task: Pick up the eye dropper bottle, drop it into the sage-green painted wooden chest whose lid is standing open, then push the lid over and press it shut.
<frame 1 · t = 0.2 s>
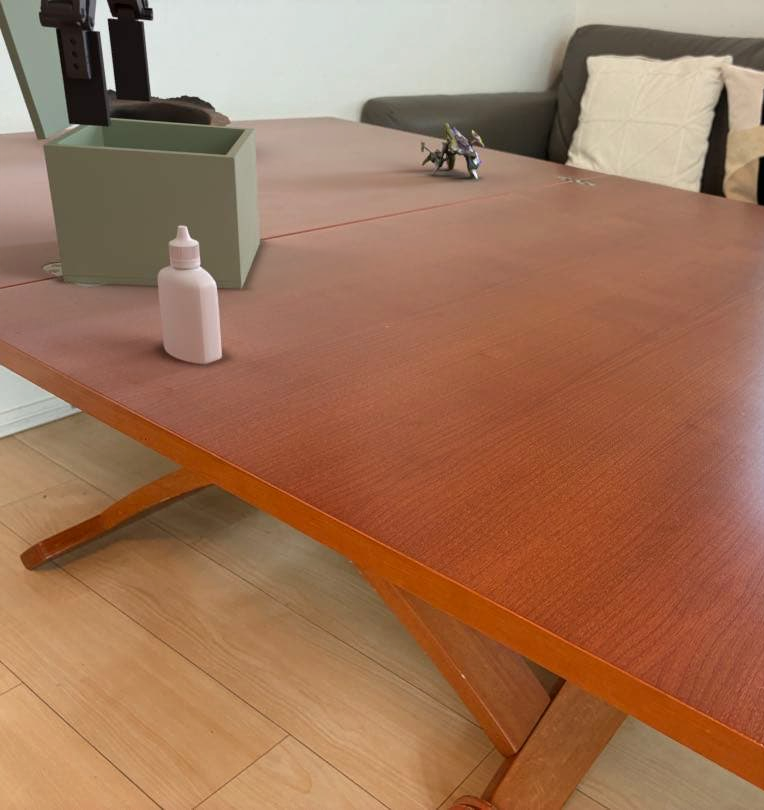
hand: (114, 111, 69), 21 cm above the table, tool pointing down, fingers open, 13 cm apart
chest lid: (39, 29, 87), point 24 cm above the table, hinge at 100.0°
stone bowl: (159, 153, 152), on the table
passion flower: (451, 179, 158), on the table
eye dropper bottle: (193, 357, 78), on the table
chest: (171, 262, 100), on the table
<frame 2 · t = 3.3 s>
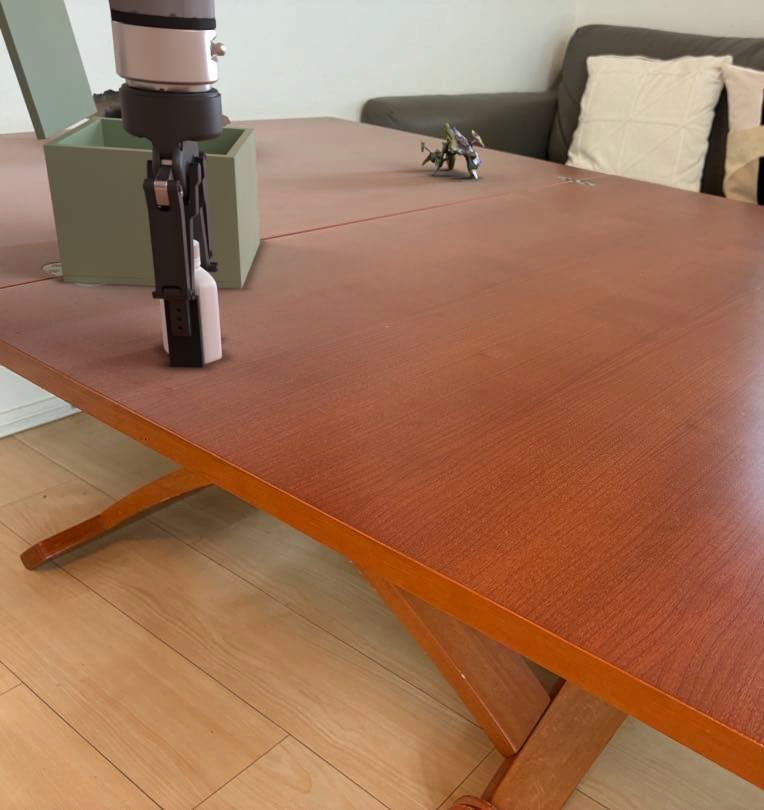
hand: (193, 352, 78), 0 cm above the table, tool pointing down, fingers closed on eye dropper bottle, 5 cm apart
eye dropper bottle: (193, 357, 78), on the table, touching gripper
everything else where it was.
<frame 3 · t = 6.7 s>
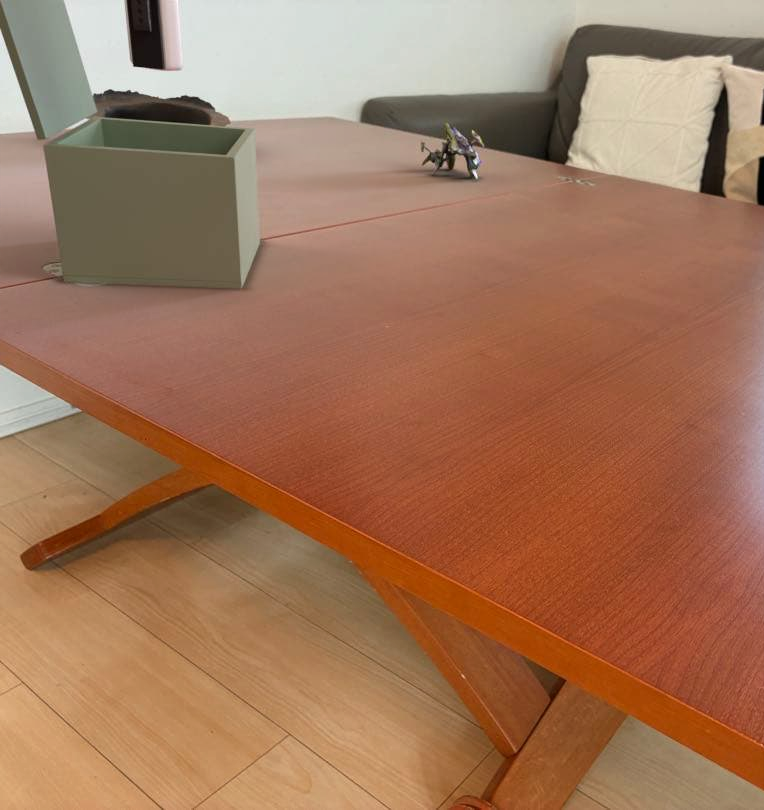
hand: (156, 64, 84), 23 cm above the table, tool pointing down, fingers closed on eye dropper bottle, 5 cm apart
eye dropper bottle: (157, 69, 84), point 22 cm above the table, touching gripper
everything else where it was.
when the fingers open (13 cm above the table, at t = 10.1 s): eye dropper bottle drops 11 cm, resting on chest.
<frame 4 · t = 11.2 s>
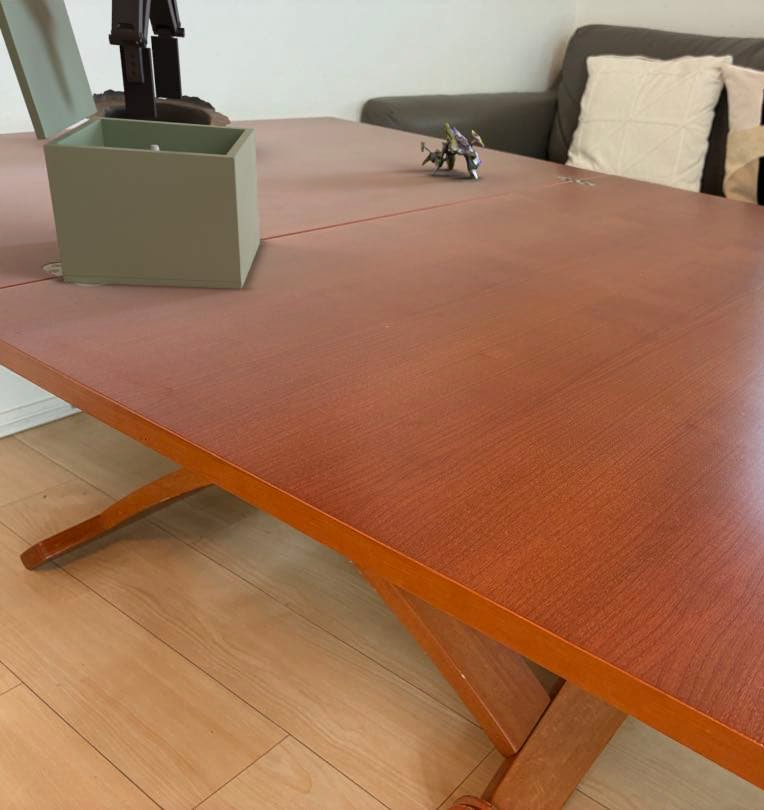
hand: (156, 106, 92), 18 cm above the table, tool pointing down, fingers open, 13 cm apart
eye dropper bottle: (171, 251, 100), point 1 cm above the table, touching chest
everything else where it was.
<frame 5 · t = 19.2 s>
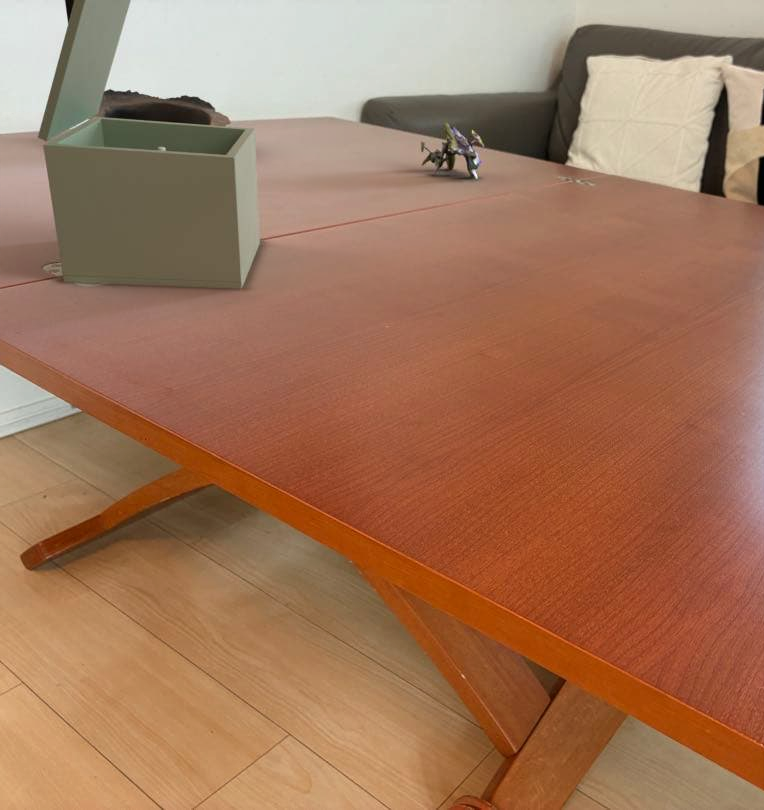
hand: (81, 36, 88), 24 cm above the table, tool pointing down, fingers closed
chest lid: (94, 39, 88), point 24 cm above the table, hinge at 68.7°, touching gripper
everything else where it was.
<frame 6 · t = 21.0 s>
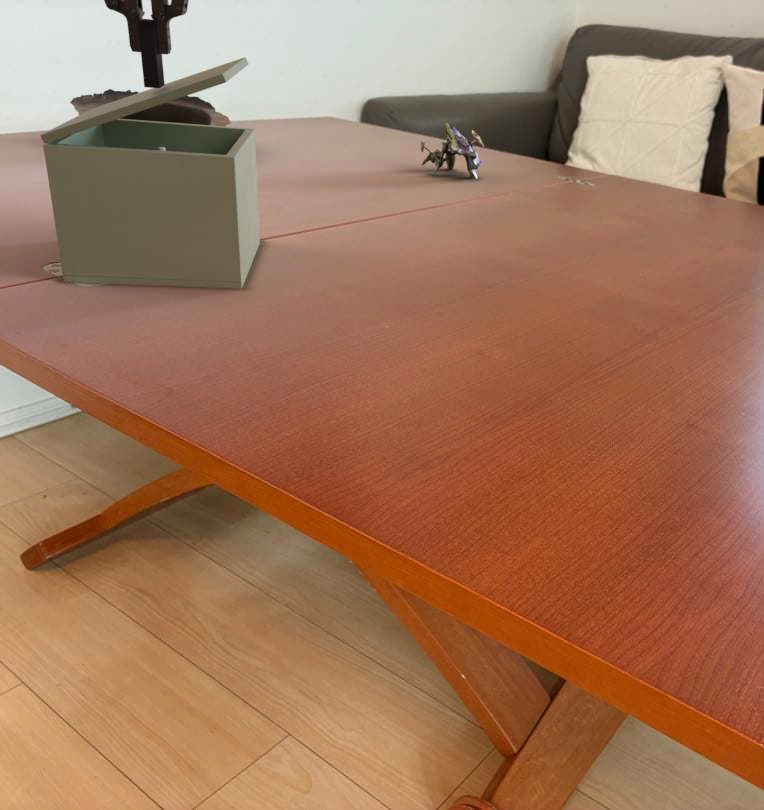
hand: (154, 85, 91), 20 cm above the table, tool pointing down, fingers closed
chest lid: (153, 96, 92), point 19 cm above the table, hinge at 22.4°, touching gripper
everything else where it was.
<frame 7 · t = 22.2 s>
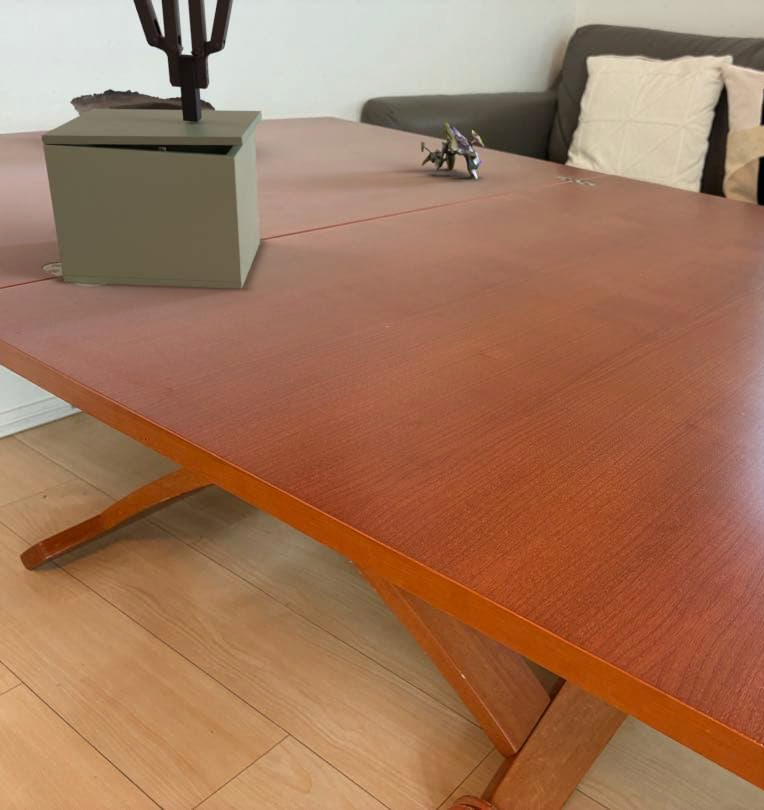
hand: (192, 119, 93), 17 cm above the table, tool pointing down, fingers closed
chest lid: (163, 125, 93), point 16 cm above the table, hinge at 3.7°, touching gripper
everything else where it was.
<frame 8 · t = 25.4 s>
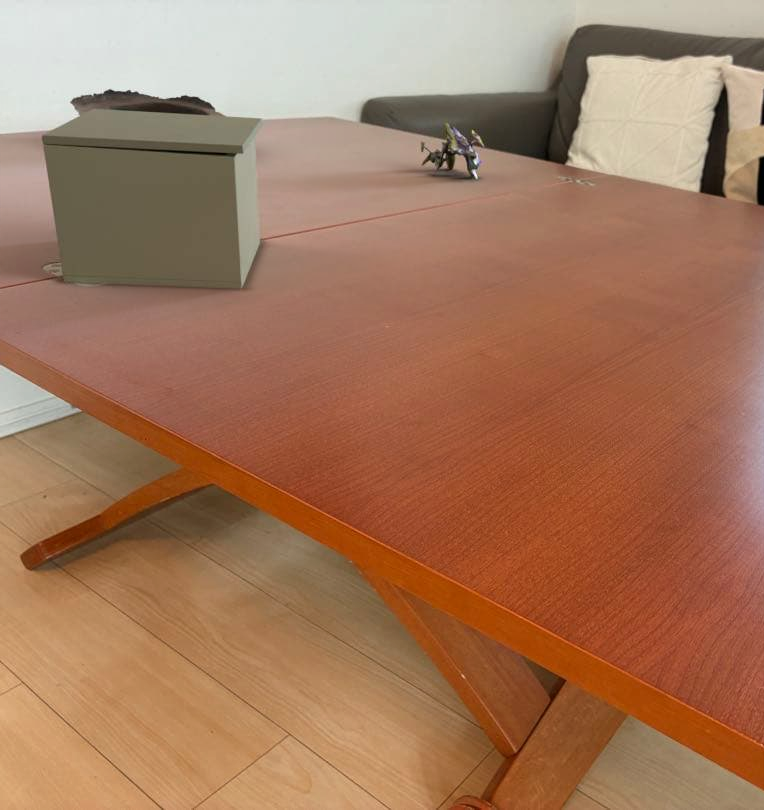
chest lid: (163, 129, 93), point 15 cm above the table, hinge at 1.1°
everything else where it was.
at the end: eye dropper bottle inside the target area in the chest (1.1 cm from its centre), point 0.8 cm above the chest's base; chest lid at +1° (first picture: +100°); the gripper is holding nothing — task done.
